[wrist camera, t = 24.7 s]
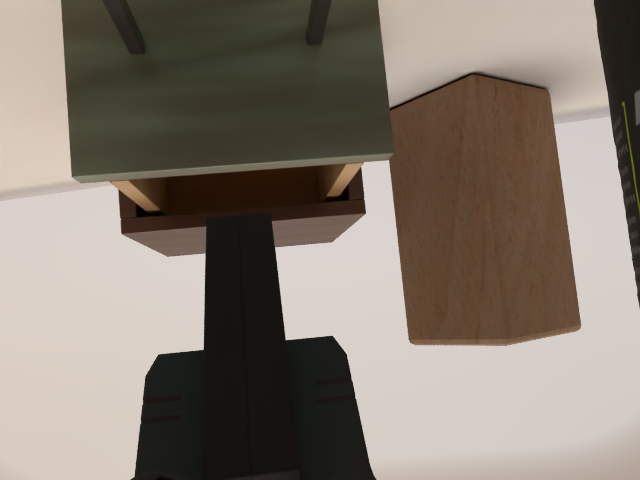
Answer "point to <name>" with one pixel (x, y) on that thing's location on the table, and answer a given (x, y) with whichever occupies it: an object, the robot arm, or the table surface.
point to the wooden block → (481, 216)
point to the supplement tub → (624, 102)
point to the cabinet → (287, 221)
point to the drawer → (224, 99)
